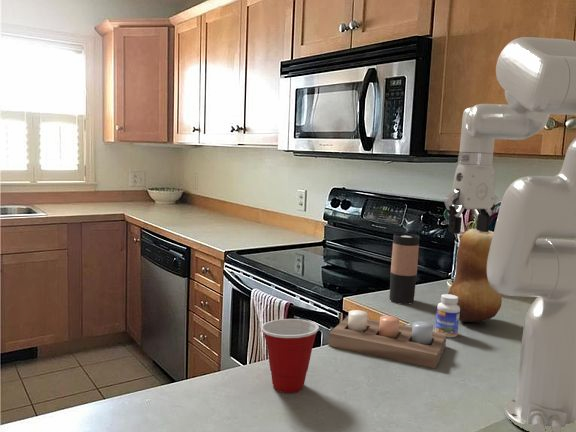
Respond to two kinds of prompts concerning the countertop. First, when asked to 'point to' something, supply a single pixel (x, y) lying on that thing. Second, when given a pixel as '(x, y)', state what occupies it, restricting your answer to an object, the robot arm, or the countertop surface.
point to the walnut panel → (389, 344)
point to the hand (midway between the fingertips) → (468, 232)
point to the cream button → (357, 321)
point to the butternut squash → (474, 278)
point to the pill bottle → (448, 315)
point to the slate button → (422, 333)
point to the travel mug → (404, 267)
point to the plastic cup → (289, 351)
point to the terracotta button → (389, 326)
